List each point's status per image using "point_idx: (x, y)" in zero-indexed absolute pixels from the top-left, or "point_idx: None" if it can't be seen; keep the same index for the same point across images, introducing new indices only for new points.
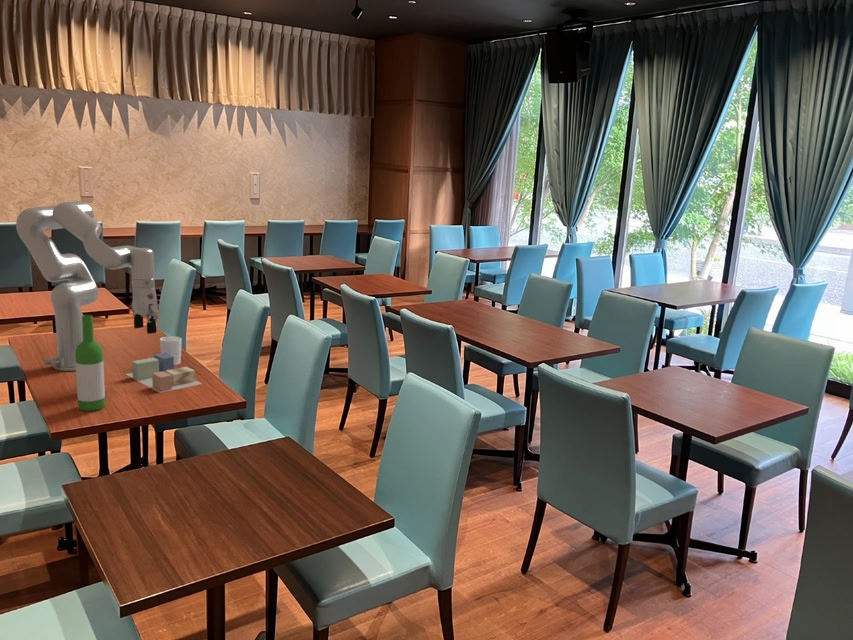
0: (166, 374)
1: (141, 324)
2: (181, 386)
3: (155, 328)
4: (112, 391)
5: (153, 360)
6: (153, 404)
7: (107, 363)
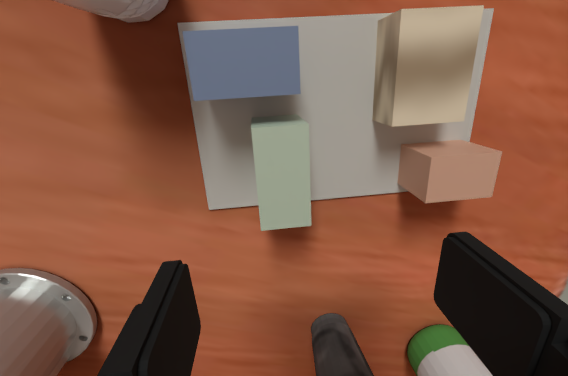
0: (477, 164)
1: (183, 299)
2: None
3: (493, 261)
4: (353, 282)
5: (300, 148)
6: (520, 231)
7: (27, 217)
